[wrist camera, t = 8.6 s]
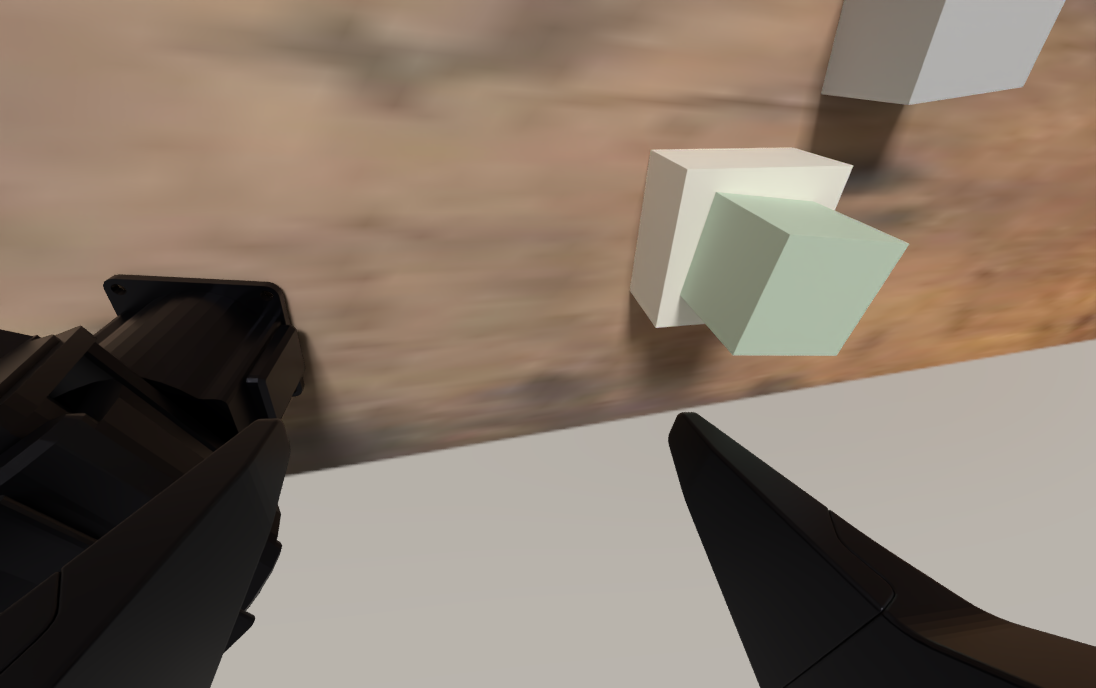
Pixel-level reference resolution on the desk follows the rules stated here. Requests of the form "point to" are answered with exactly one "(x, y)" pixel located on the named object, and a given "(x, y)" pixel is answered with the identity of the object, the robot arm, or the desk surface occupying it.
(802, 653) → the robot arm
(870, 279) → the sage cube
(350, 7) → the desk surface
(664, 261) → the cream block
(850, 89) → the grey cube
